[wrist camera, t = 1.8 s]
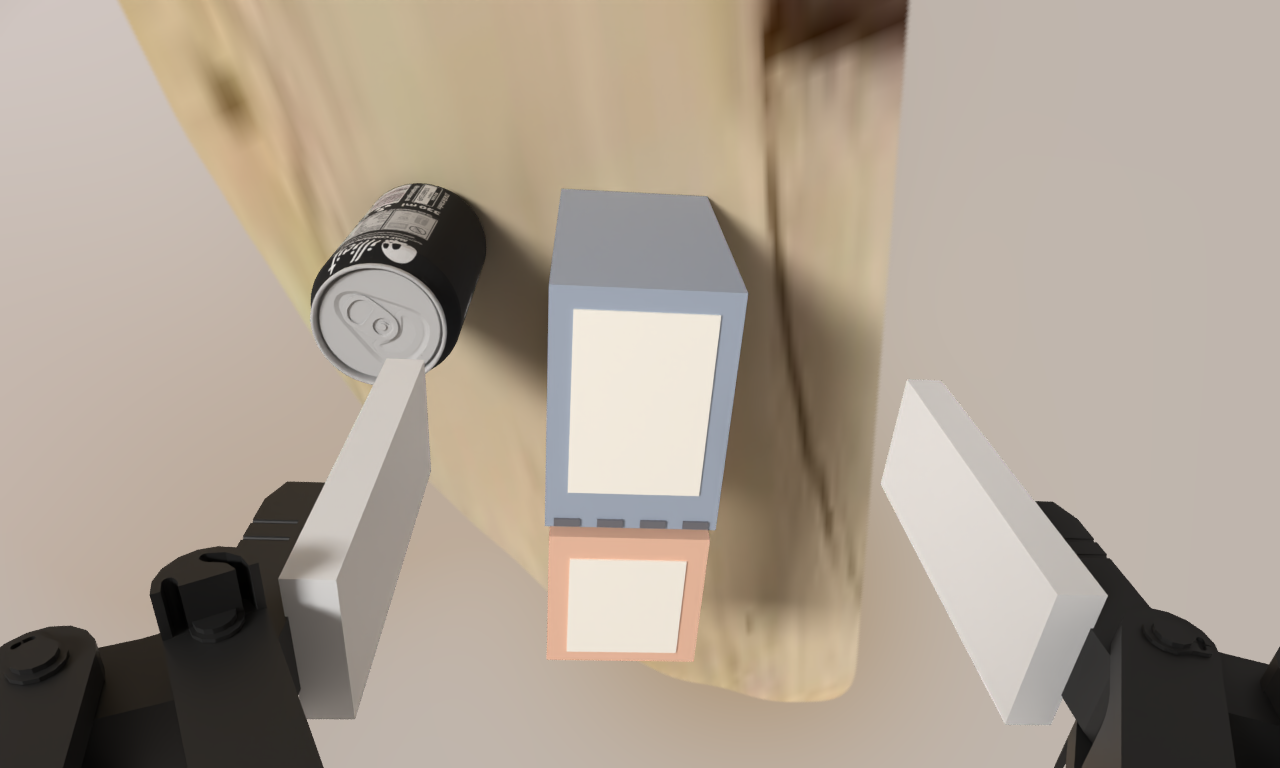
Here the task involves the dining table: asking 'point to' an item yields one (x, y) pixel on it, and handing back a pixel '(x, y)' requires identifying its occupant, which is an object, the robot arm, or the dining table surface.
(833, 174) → the dining table surface
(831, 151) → the dining table surface
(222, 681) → the robot arm
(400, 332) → the beverage can
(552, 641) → the stub
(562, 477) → the block
